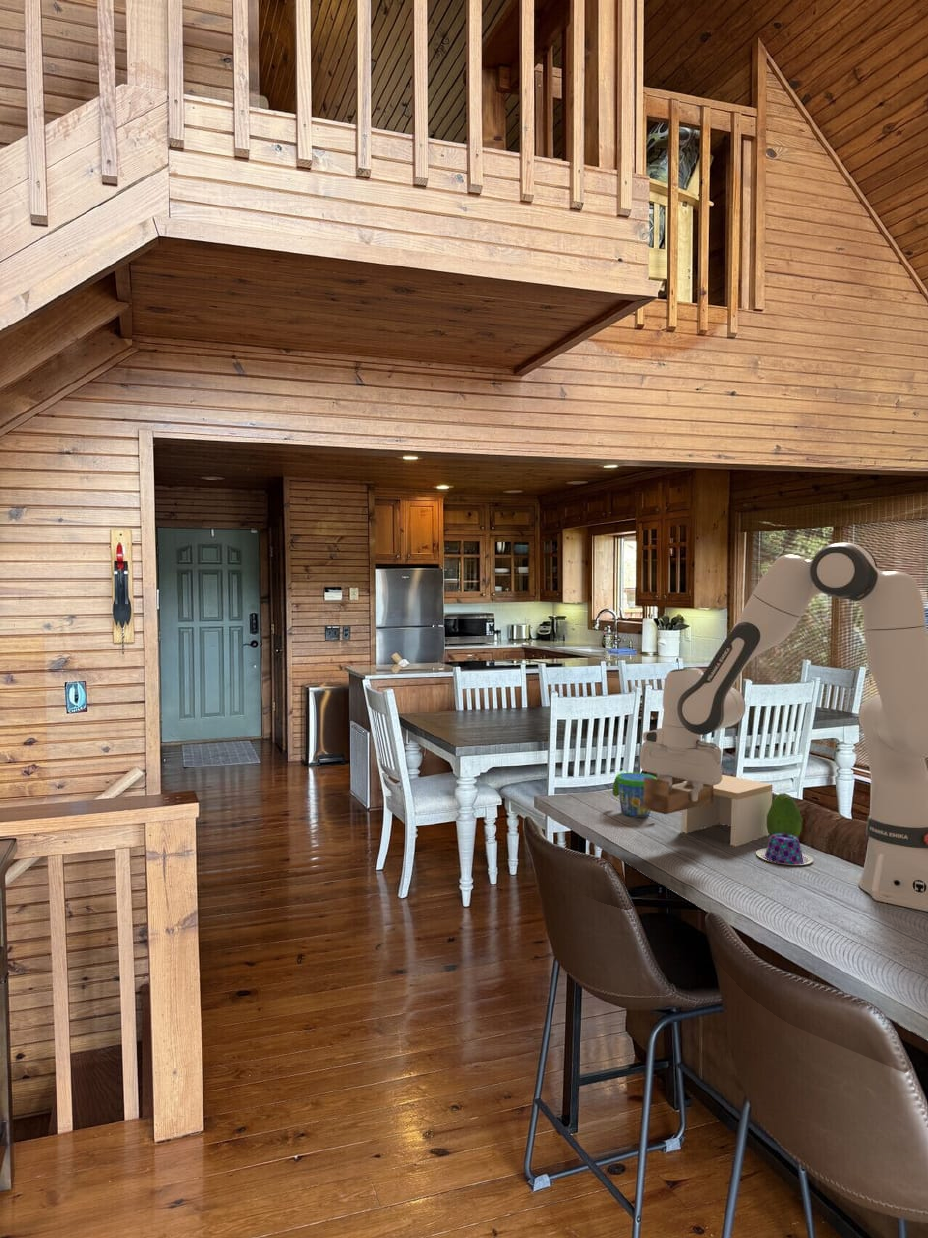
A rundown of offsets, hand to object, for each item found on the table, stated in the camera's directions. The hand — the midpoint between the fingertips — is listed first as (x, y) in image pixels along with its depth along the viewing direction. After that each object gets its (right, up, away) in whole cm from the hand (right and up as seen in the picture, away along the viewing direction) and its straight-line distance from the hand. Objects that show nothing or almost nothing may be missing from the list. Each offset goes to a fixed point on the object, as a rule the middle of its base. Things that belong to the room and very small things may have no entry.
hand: (678, 797), depth 192 cm
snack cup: (-4, -11, +30) cm, 33 cm away
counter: (+15, -12, +13) cm, 23 cm away
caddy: (0, -2, 0) cm, 2 cm away
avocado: (+27, -13, +6) cm, 30 cm away
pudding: (+22, -13, -5) cm, 26 cm away
